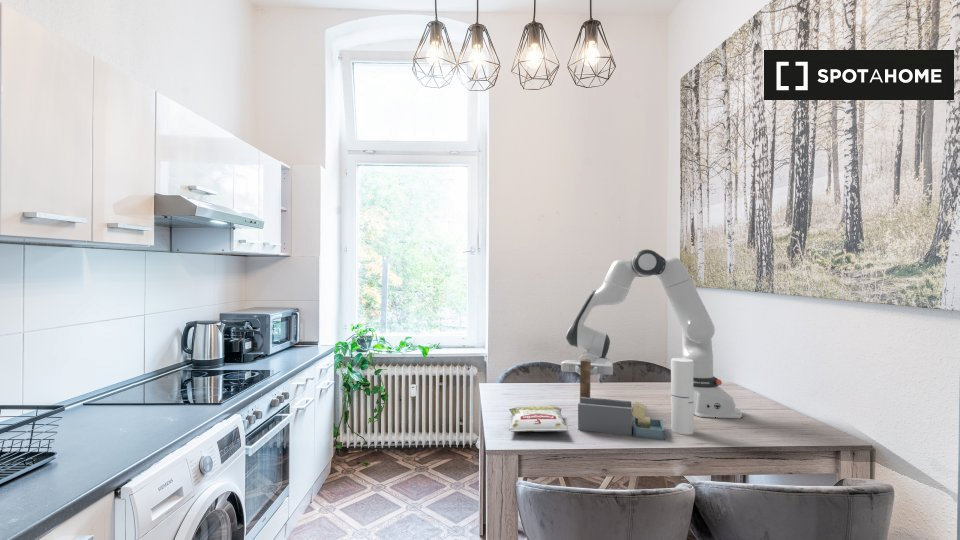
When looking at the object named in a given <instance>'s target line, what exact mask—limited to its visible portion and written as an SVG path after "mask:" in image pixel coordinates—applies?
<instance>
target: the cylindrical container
mask: <svg viewBox="0 0 960 540" xmlns="http://www.w3.org/2000/svg"><path fill="white" fill-rule="evenodd" d="M670 410H671V411H670V412H671V413H670V414H671V415H670V416H671V417H670V418H671V419H670V420H671V421H670V424H671V426H670V427H671V429H670V430H671V431H672V432H674V433H676V434H680V435H687V436H688V435H689V436H690V435H694V431H695V430H694V429H695V428H694V426H695V425H694V424H695V423H694V408H693V360H691V359H686V358H683V357H673V358H670Z"/></svg>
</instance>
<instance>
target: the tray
mask: <svg viewBox="0 0 960 540" xmlns="http://www.w3.org/2000/svg"><path fill="white" fill-rule="evenodd" d="M632 436H633V437H635V438H642V439H643V438H645V439H652V440H662V441H665V440H666V428H665V425H664V421H663V419H660V418H658V419H657V418H656V419H655V418H650V429H649V428H639V427H638V418H637V417H634V416H632Z"/></svg>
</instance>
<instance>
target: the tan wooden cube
mask: <svg viewBox="0 0 960 540" xmlns="http://www.w3.org/2000/svg"><path fill="white" fill-rule="evenodd" d="M650 419H651V417H650V416H644V418H643V420H642V419H639V418H638V427H639V428H649V429H650Z"/></svg>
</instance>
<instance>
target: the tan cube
mask: <svg viewBox="0 0 960 540" xmlns="http://www.w3.org/2000/svg"><path fill="white" fill-rule="evenodd" d="M647 407H648V406H647V405H646V404H643V403H640V402H637V401H635V402H634V404H633V407H632V417H634V416H635V417H637V418H639V419H642V420H643V418H644V417H646V416H645V415H646V412H647V409H648V408H647Z"/></svg>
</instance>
